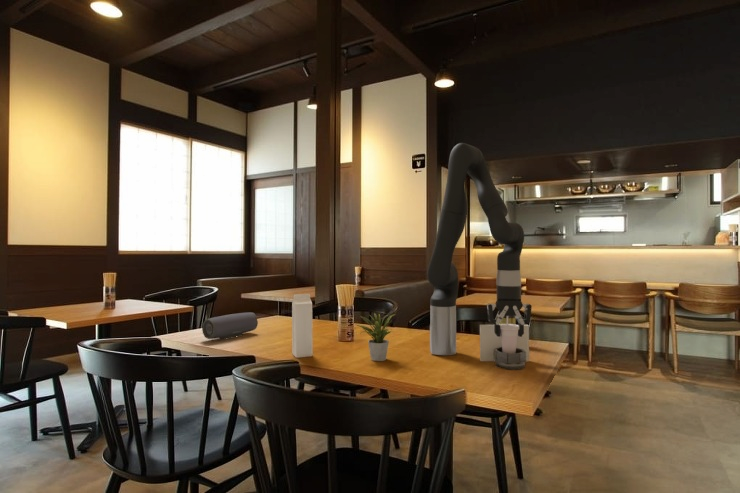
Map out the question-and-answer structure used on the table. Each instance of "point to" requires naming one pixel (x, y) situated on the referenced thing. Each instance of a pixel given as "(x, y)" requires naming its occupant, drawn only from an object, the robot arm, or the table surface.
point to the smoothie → (509, 336)
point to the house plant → (377, 338)
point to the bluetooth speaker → (229, 325)
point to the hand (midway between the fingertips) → (509, 336)
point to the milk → (302, 326)
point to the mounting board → (499, 342)
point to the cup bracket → (510, 359)
